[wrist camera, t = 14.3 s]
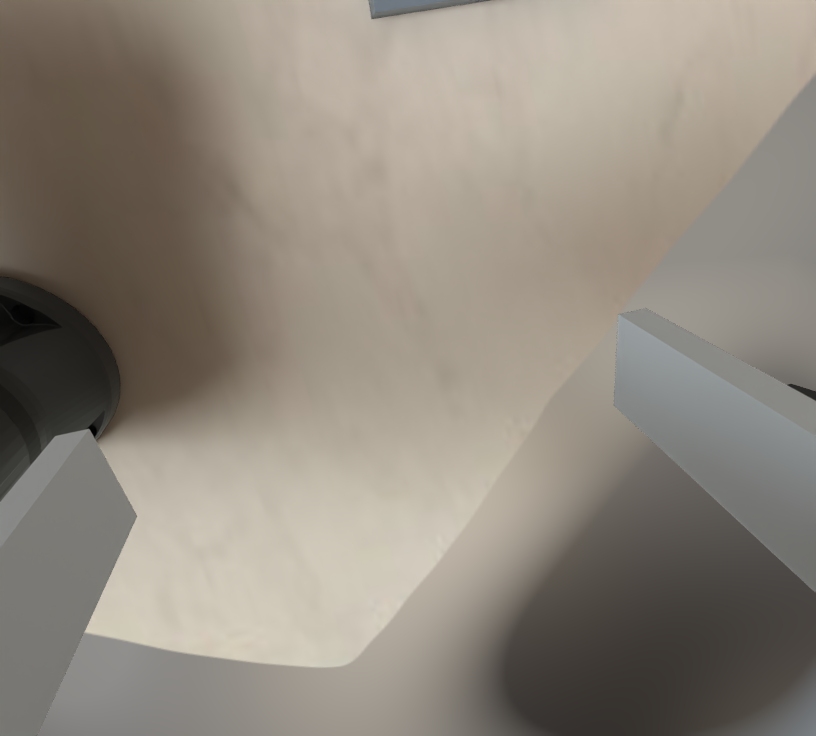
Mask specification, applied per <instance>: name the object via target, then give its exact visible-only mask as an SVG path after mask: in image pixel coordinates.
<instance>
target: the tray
mask: <svg viewBox="0 0 816 736" xmlns="http://www.w3.org/2000/svg"><path fill="white" fill-rule="evenodd" d="M483 1H489V0H369V5H370V11H371V18H372V19H374V18H381V17H387V16H393V15H400V14H406V13H413V12H419V11H425V10H432V9H438V8H444V7H451V6H457V5H464V4H470V3H476V2H483Z"/></svg>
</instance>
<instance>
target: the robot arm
mask: <svg viewBox="0 0 816 736" xmlns="http://www.w3.org/2000/svg"><path fill="white" fill-rule="evenodd" d="M617 328H618V329H617V349H616V369H615V390H614V406H615V407H616V408H617V409H618V410H619V411H621V412H622V413H623V414H624V415H625V416H626V417H627V418H628V419H629V420H630V421H631V422H632V423H634V425H636V426H637V427H638V428H639V429H640V430H641V431H642V432H643V433H644V434H645V435H646V436H647V437H648V438H650V439H651V440H652V441H653V442H654V443H655V444H656V445H657V446H658V447H659V448H660V449H661V450H662V451H664V452H665V453H666V454H667V455H668V456H669V457H670V458H671V459H672V460H673V461H674V462H675V463H677V464H678V465H679V466H680V467H681V468H682V469H683V470H684V471H685V472H686V473H687V474H688V475H689V476H690V477H692V478H693V479H694V480H695V481H696V482H697V483H698V484H699V485H700V486H701V487H702V488H703V489H704V490H706V491H707V492H708V493H709V494H710V495H711V496H712V497H713V498H714V499H715V500H716V501H717V502H718V503H719V504H721V505H722V506H723V507H724V508H725V509H726V510H727V511H728V512H729V513H730V514H731V515H732V516H733V517H735V518H736V519H737V520H738V521H739V522H740V523H741V524H742V525H743V526H744V527H745V528H746V529H748V530H749V531H750V532H751V533H752V534H753V535H754V536H755V537H756V538H758V540H759V541H760V542H762V543H763V544H764V545H765V546H766V547H767V548H768V549H769V550H770V551H771V552H772V553H773V554H774V555H775V556H777V557H778V558H779V559H780V560H781V561H782V562H783V563H784V564H785V565H786V566H787V567H788V568H789V569H791V570H792V571H793V572H794V573H795V574H796V575H797V576H798V577H799V578H800V579H801V580H803V582H805V583H806V584H807V585H808V586H809V587H810V588H811V589H812V590H813V591H814V592H815V593H816V391H812V390H809V389H806V388H803V387H800V386H796V385H793V384H789V385H786V384H784V383H782V382H780V381H778V380H777V379H775V378H773V377H771V376H769V375H767V374H766V373H764V372H762V371H760V370H758V369H756V368H754V367H753V366H751V365H749V364H747V363H745V362H744V361H742V360H740V359H738V358H736V357H734V356H733V355H731V354H729V353H727V352H725V351H724V350H722V349H720V348H718V347H716V346H714V345H713V344H711V343H709V342H707V341H705V340H703V339H701V338H700V337H698V336H696V335H694V334H692V333H691V332H689V331H687V330H685V329H683V328H681V327H679V326H678V325H676V324H674V323H672V322H670V321H669V320H667V319H665V318H663V317H661V316H659V315H657V314H656V313H654V312H652V311H650V310H648V309H640V310H636V311H631V312H627V313H622V314H618V327H617ZM119 396H120V378H119V372H118V368H117V364H116V361H115V359H114V356H113V354H112V352H111V350H110V348H109V346H108V345H107V343H106V341H105V340H104V338H103V337H102V336H101V334H100V333H99V332H98V331H97V329H96V328H95V327H94V326H93V325H92V324H91V323H90V322H89V321H88V320H87V319H86V318H85V317H84V316H83V315H82V314H81V313H79V312H78V311H77V310H76V309H74V308H73V307H72V306H70V305H69V304H68V303H66V302H64V301H63V300H61V299H60V298H58V297H56V296H54V295H53V294H51V293H49V292H47V291H45V290H43V289H40V288H38V287H36V286H33V285H30V284H28V283H25V282H22V281H18V280H15V279H11V278H6V277H1V276H0V736H37V735H38V733H39V731H40V728H41V726H42V724H43V722H44V720H45V718H46V715H47V713H48V711H49V709H50V706H51V704H52V702H53V700H54V698H55V696H56V693H57V691H58V689H59V687H60V684H61V682H62V680H63V678H64V676H65V674H66V671H67V669H68V667H69V664H70V663H71V660H72V658H73V656H74V654H75V652H76V649H77V647H78V645H79V643H80V641H81V638H82V636H83V634H84V632H85V630H86V627H87V625H88V623H89V621H90V619H91V616H92V614H93V612H94V610H95V608H96V605H97V603H98V601H99V599H100V597H101V594H102V592H103V590H104V588H105V586H106V583H107V581H108V579H109V577H110V575H111V572H112V570H113V568H114V566H115V564H116V561H117V559H118V557H119V555H120V553H121V550H122V548H123V546H124V544H125V542H126V539H127V537H128V535H129V533H130V531H131V528H132V526H133V524H134V522H135V520H136V517H137V515H136V513H135V511H134V509H133V508H132V506H131V504H130V502H129V500H128V498H127V497H126V495H125V493H124V491H123V489H122V488H121V486H120V484H119V482H118V480H117V478H116V477H115V475H114V473H113V471H112V469H111V467H110V466H109V464H108V462H107V460H106V458H105V457H104V455H103V453H102V451H101V449H100V447H99V446H98V444H97V442H96V440H97V439H98V438H99V436H100V435H101V433H102V432H103V431H104V429H105V428H106V426H107V425H108V423H109V422H110V421H111V419H112V417H113V415H114V413H115V411H116V408H117V405H118V401H119Z"/></svg>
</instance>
